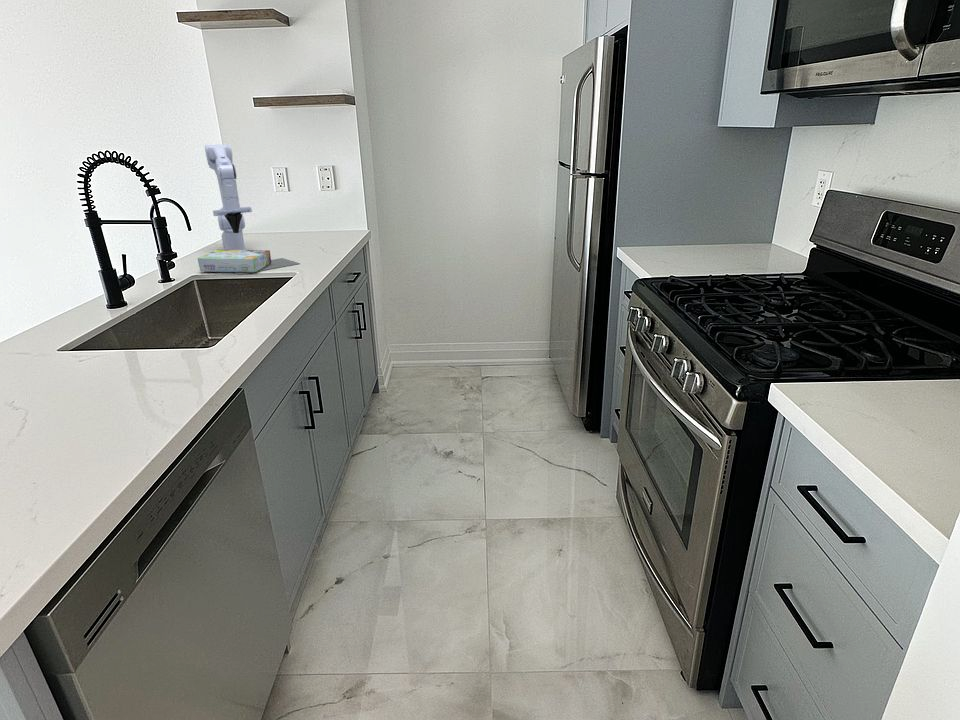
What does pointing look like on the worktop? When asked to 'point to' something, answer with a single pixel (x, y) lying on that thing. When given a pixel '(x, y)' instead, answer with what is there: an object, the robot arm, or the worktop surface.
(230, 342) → the worktop surface
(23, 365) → the worktop surface
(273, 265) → the mat
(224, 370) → the worktop surface
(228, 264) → the snack box
